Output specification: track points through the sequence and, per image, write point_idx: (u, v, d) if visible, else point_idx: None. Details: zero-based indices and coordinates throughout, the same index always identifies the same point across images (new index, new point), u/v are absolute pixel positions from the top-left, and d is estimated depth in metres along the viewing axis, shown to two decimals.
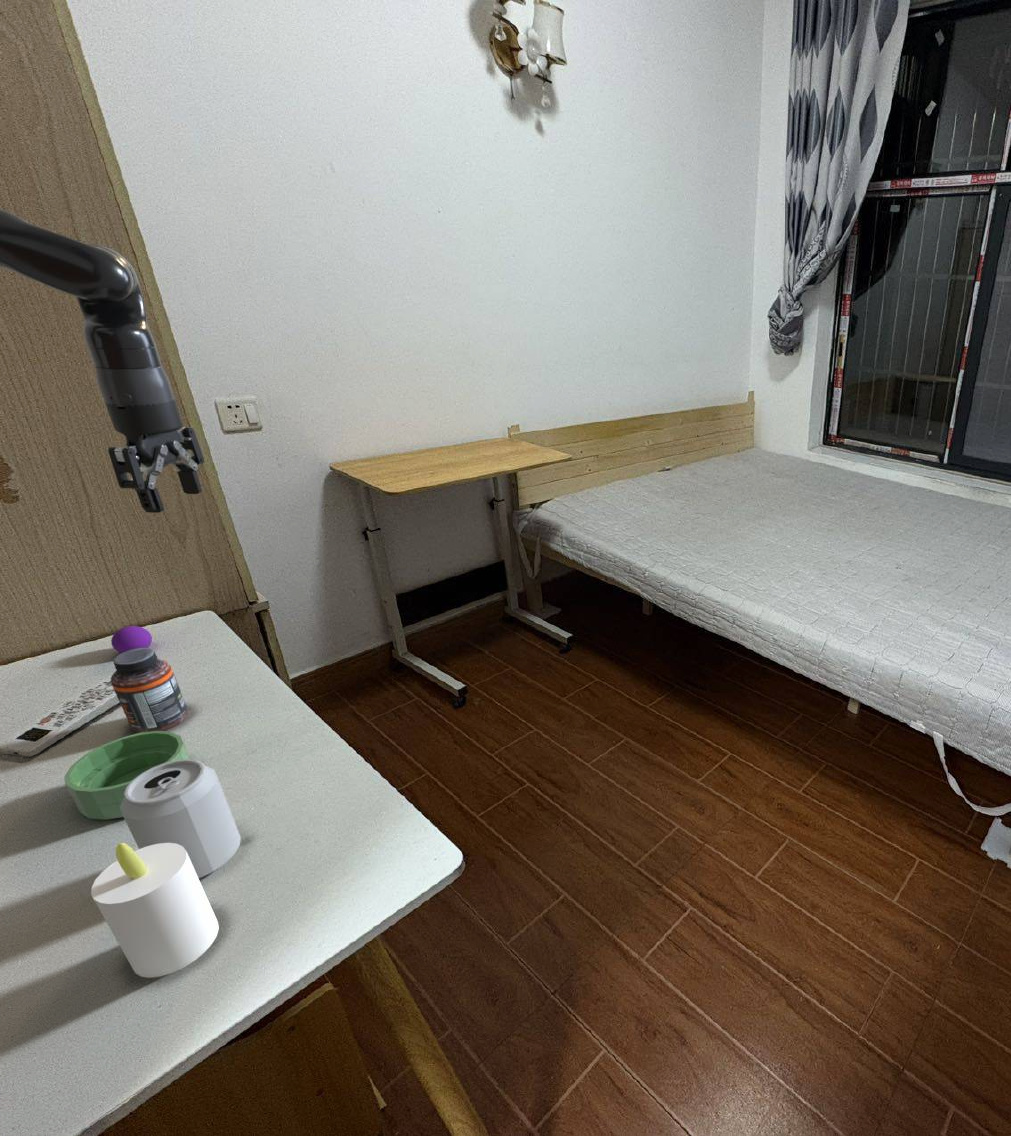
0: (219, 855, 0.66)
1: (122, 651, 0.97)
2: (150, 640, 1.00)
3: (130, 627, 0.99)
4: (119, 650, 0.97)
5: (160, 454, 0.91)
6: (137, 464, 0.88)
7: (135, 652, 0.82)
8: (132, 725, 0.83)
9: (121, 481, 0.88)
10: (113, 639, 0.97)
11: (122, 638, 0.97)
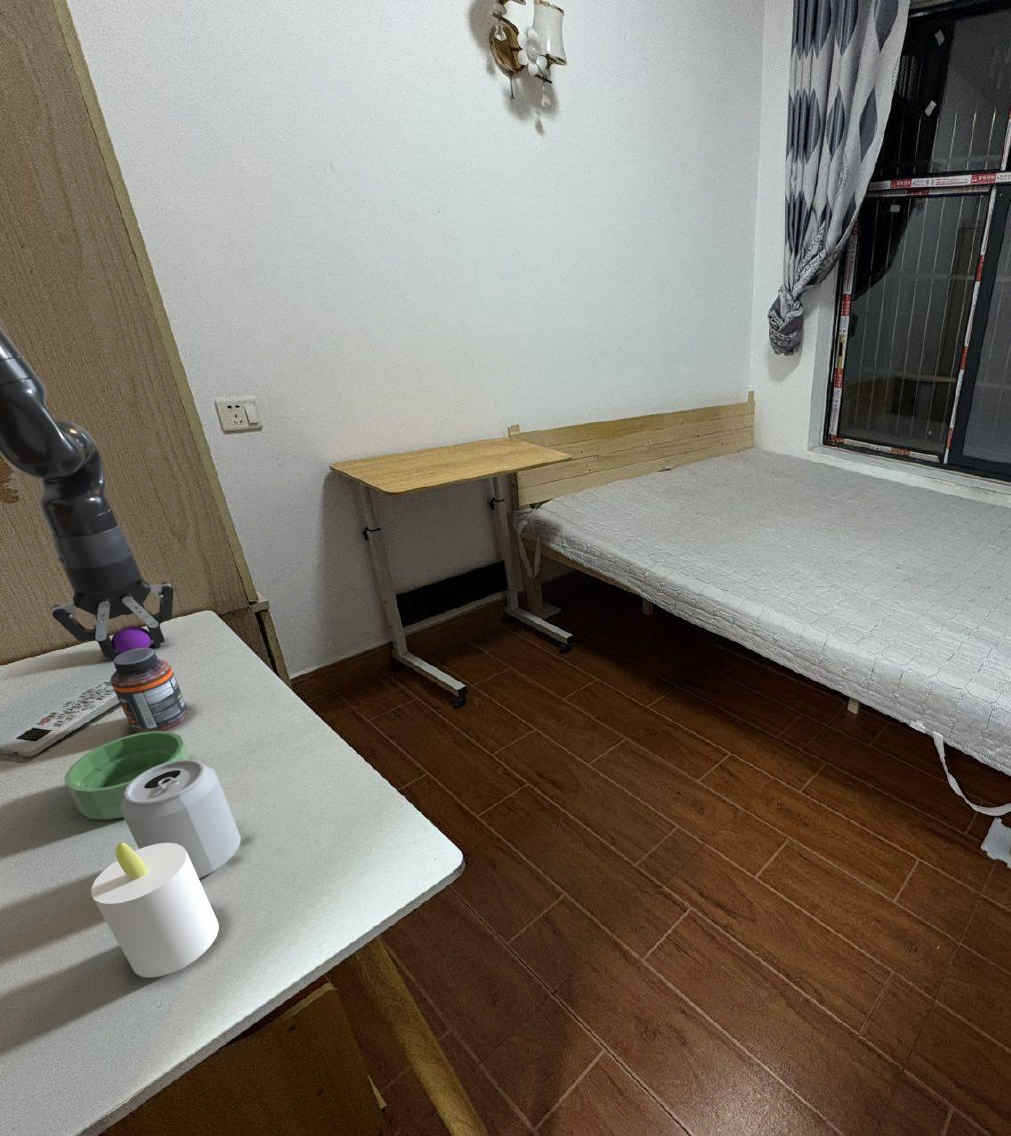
0: (219, 855, 0.66)
1: (122, 651, 0.97)
2: (150, 640, 1.00)
3: (130, 627, 0.99)
4: (119, 650, 0.97)
5: (100, 610, 0.94)
6: (71, 622, 0.92)
7: (135, 652, 0.82)
8: (132, 725, 0.83)
9: None
10: (113, 639, 0.97)
11: (122, 638, 0.97)
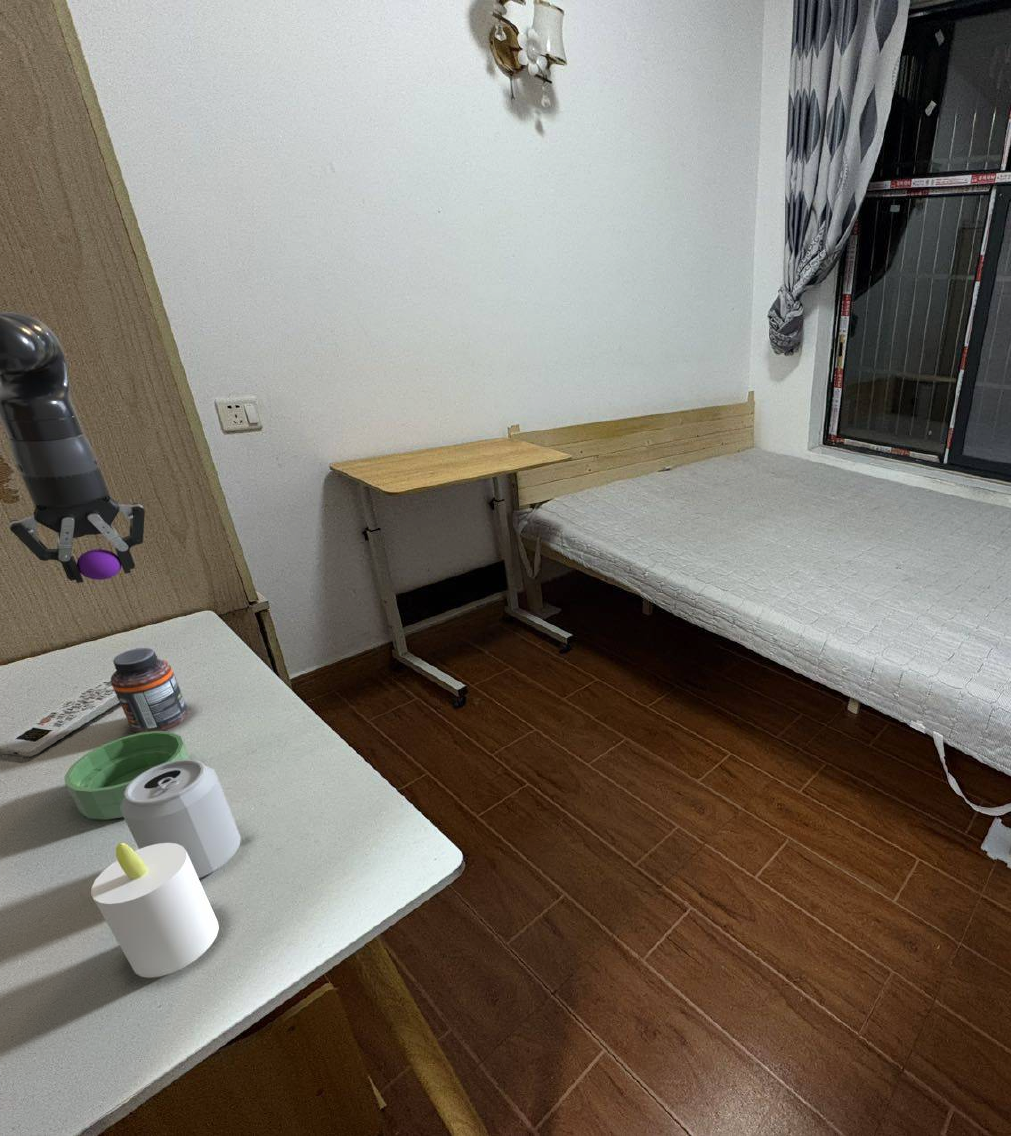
0: (219, 855, 0.66)
1: (88, 575, 0.91)
2: (119, 565, 0.93)
3: (97, 549, 0.92)
4: (85, 573, 0.90)
5: (63, 527, 0.87)
6: (31, 538, 0.85)
7: (135, 652, 0.82)
8: (132, 725, 0.83)
9: None
10: (78, 561, 0.90)
11: (88, 560, 0.90)
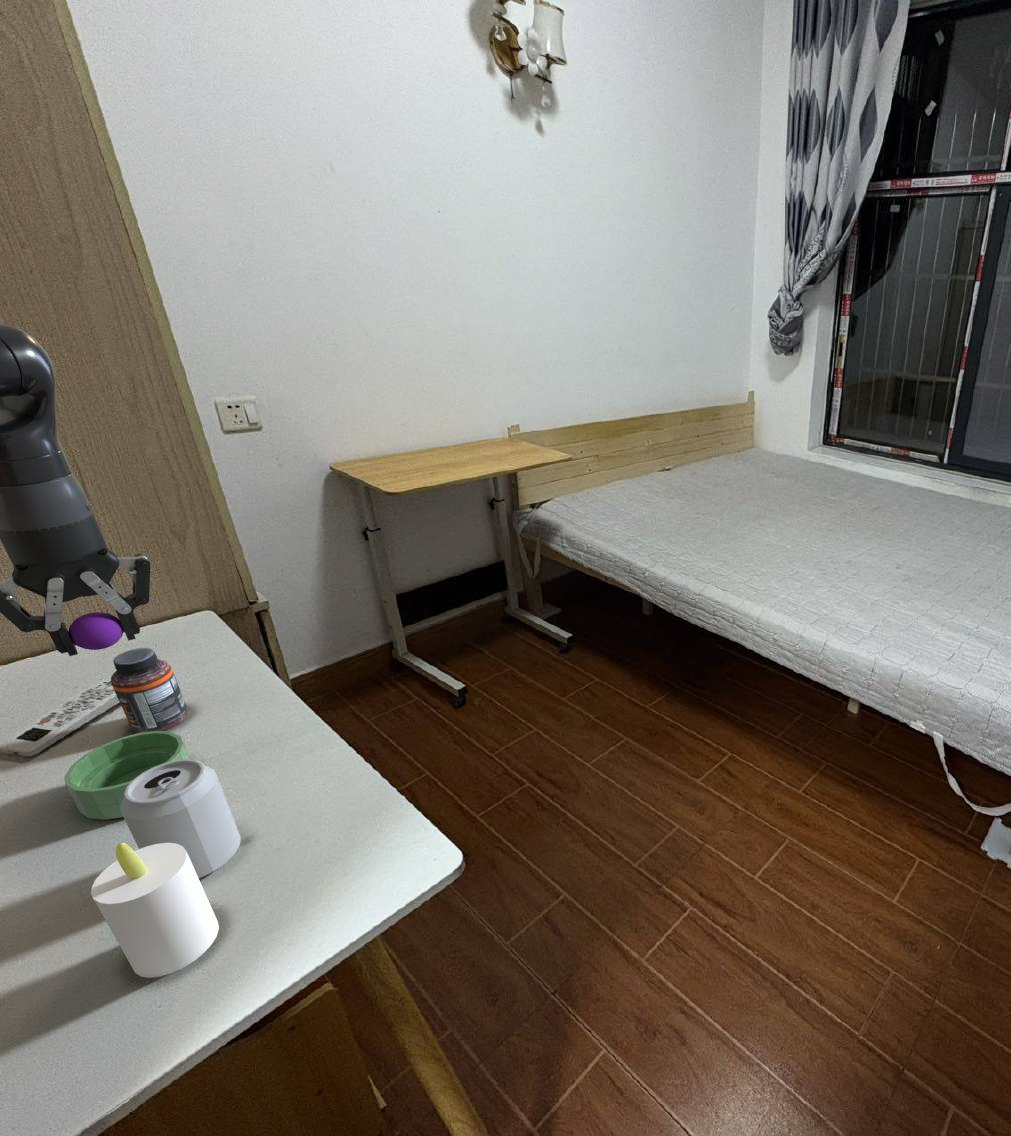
0: (219, 855, 0.66)
1: (83, 645, 0.73)
2: (121, 631, 0.76)
3: (94, 613, 0.74)
4: (79, 644, 0.73)
5: (50, 590, 0.70)
6: (10, 606, 0.68)
7: (135, 652, 0.82)
8: (132, 725, 0.83)
9: None
10: (71, 629, 0.73)
11: (82, 627, 0.73)
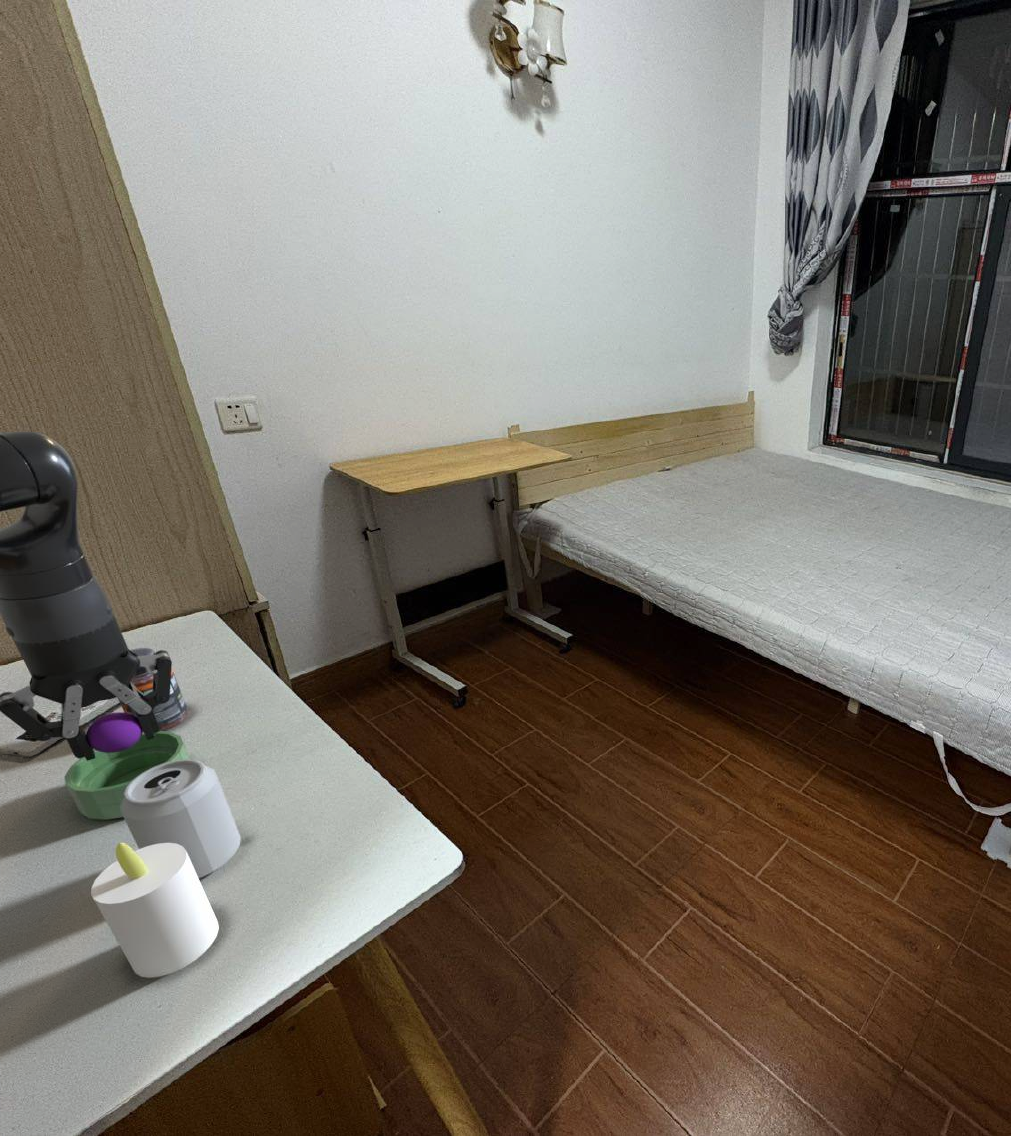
0: (219, 855, 0.66)
1: (101, 750, 0.70)
2: (140, 731, 0.73)
3: (112, 714, 0.71)
4: (97, 748, 0.70)
5: (69, 698, 0.67)
6: (27, 716, 0.65)
7: (135, 652, 0.82)
8: None
9: None
10: (88, 733, 0.70)
11: (100, 732, 0.70)
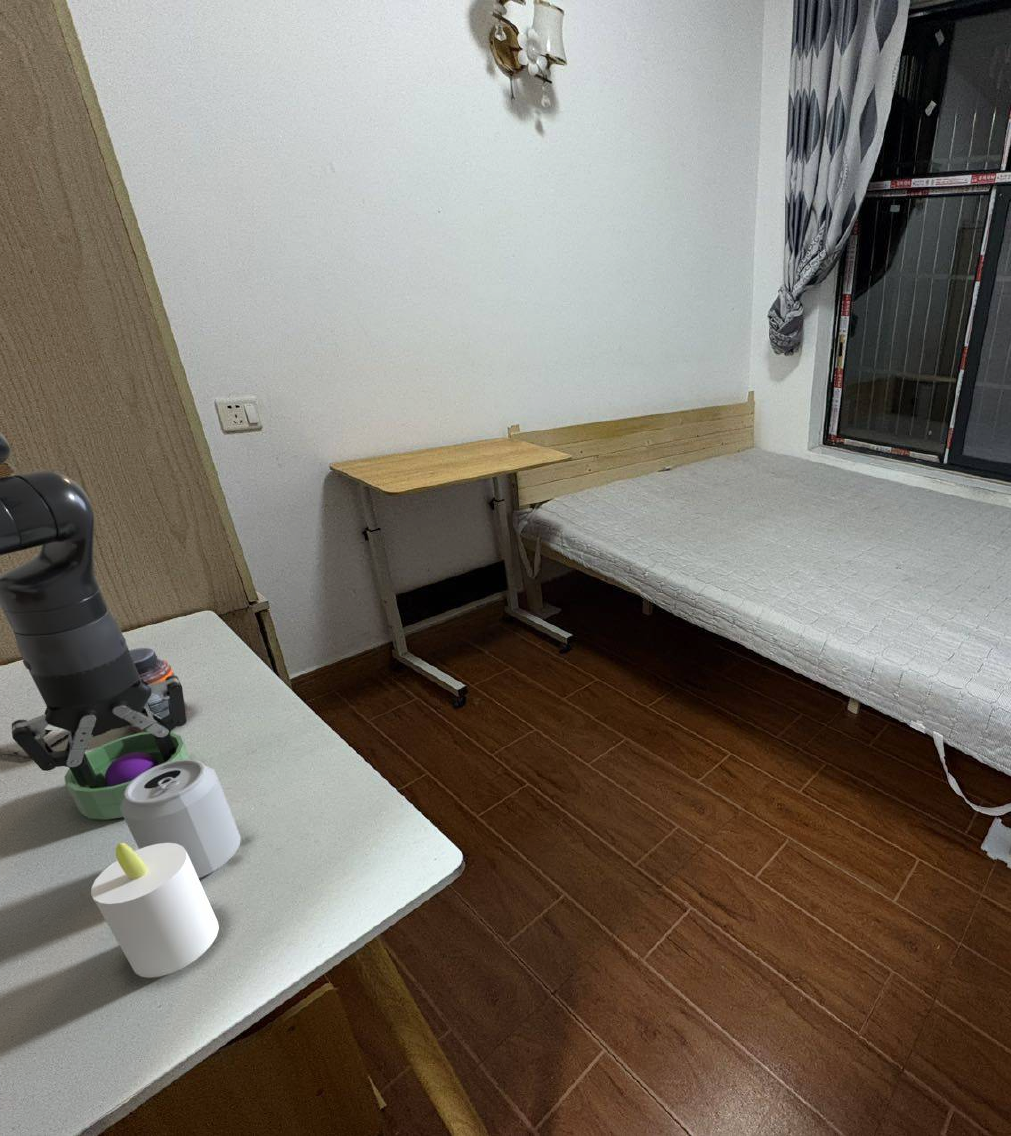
0: (219, 855, 0.66)
1: None
2: None
3: (130, 755, 0.74)
4: None
5: (81, 727, 0.68)
6: (37, 745, 0.67)
7: (135, 652, 0.82)
8: (132, 725, 0.83)
9: None
10: (108, 775, 0.73)
11: (119, 773, 0.73)
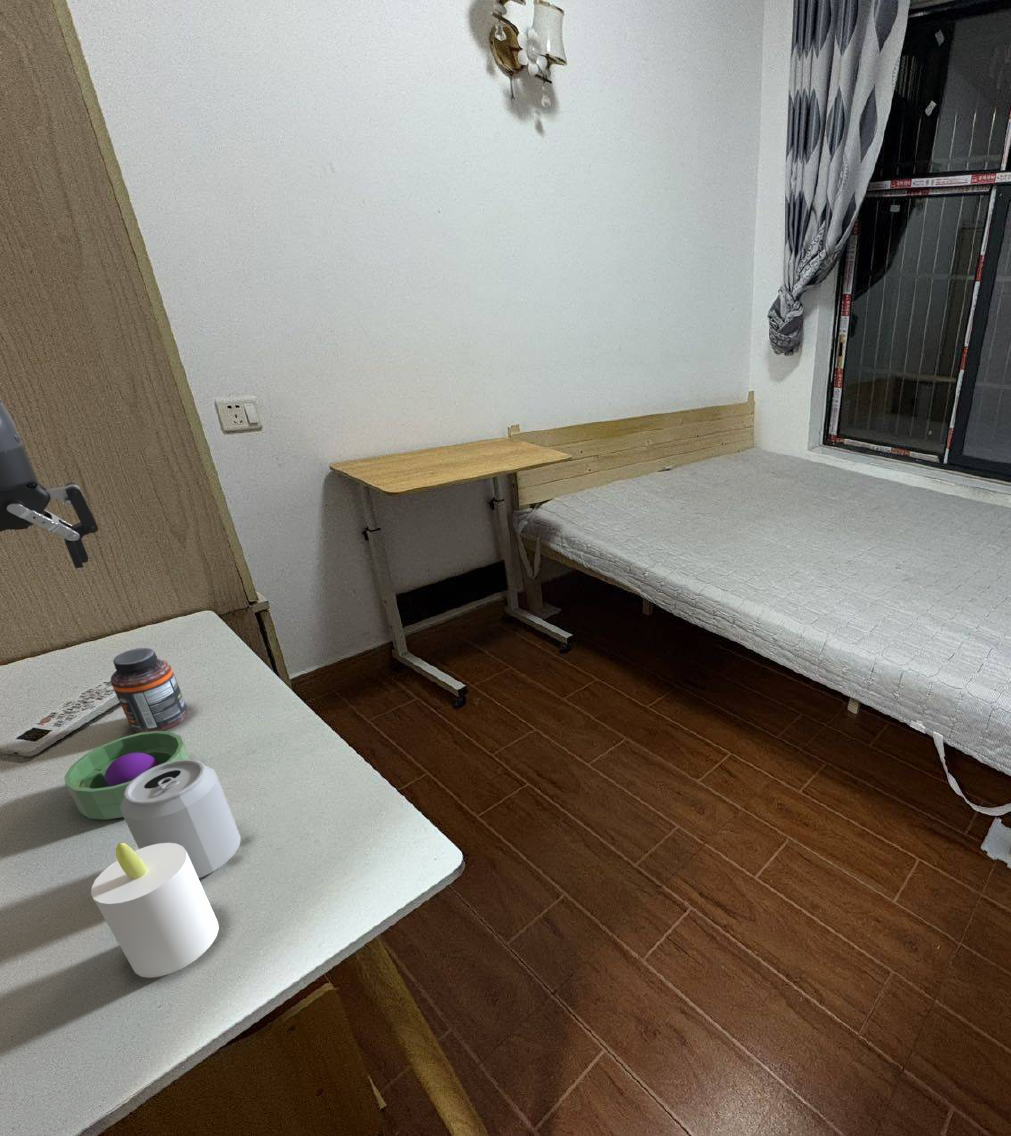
0: (219, 855, 0.66)
1: None
2: None
3: (130, 755, 0.74)
4: None
5: None
6: None
7: (135, 652, 0.82)
8: (132, 725, 0.83)
9: None
10: (107, 775, 0.73)
11: (119, 773, 0.72)
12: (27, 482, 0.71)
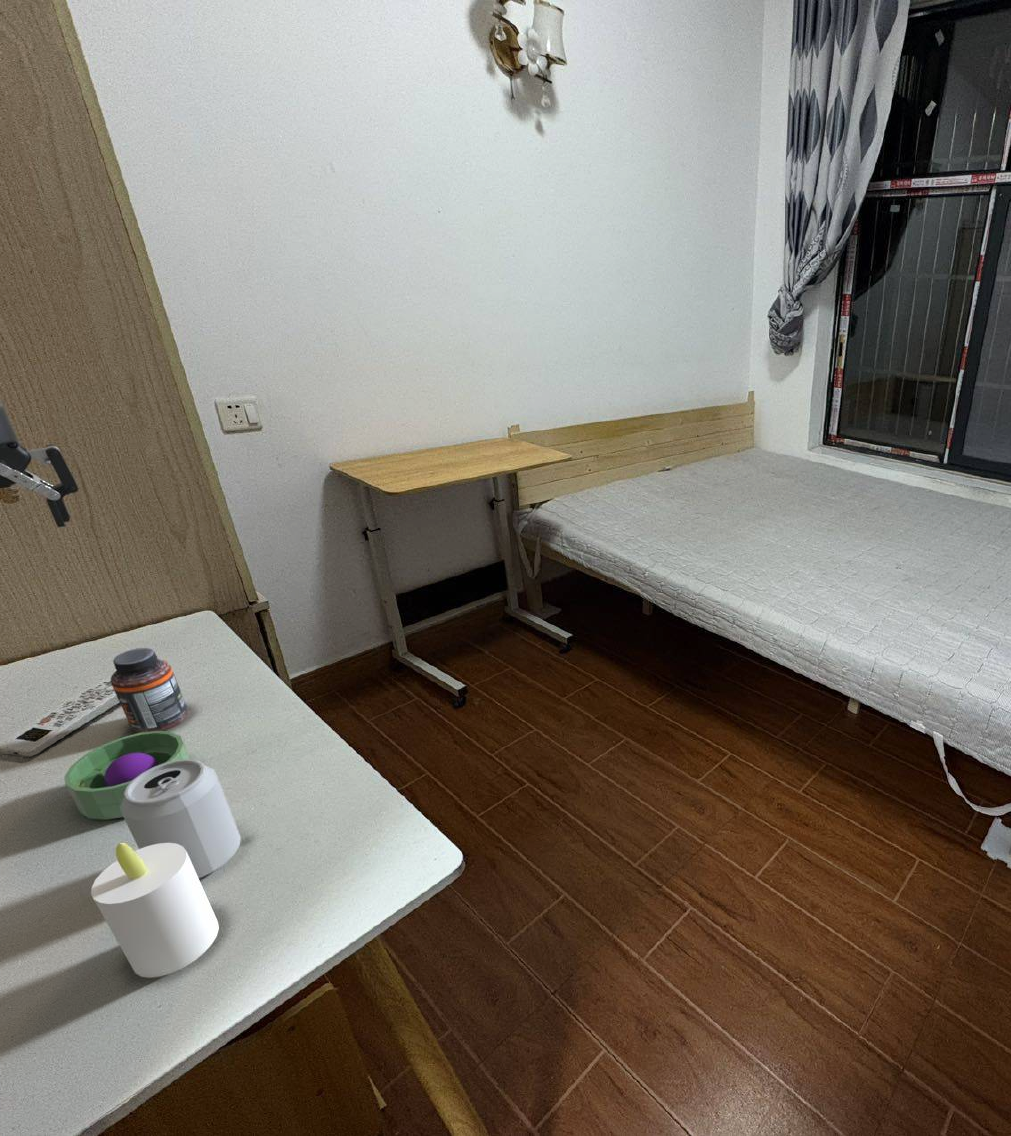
0: (219, 855, 0.66)
1: None
2: None
3: (129, 756, 0.74)
4: None
5: None
6: None
7: (135, 652, 0.82)
8: (132, 725, 0.83)
9: None
10: (107, 775, 0.72)
11: (118, 773, 0.72)
12: (8, 441, 0.74)
